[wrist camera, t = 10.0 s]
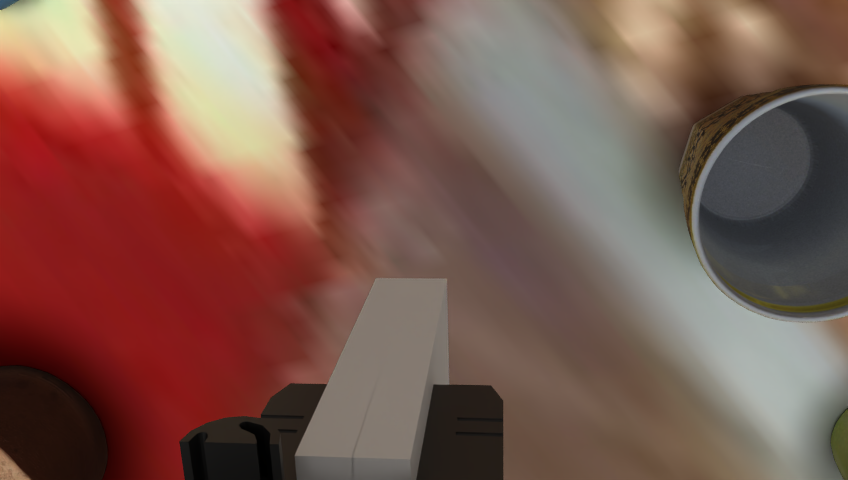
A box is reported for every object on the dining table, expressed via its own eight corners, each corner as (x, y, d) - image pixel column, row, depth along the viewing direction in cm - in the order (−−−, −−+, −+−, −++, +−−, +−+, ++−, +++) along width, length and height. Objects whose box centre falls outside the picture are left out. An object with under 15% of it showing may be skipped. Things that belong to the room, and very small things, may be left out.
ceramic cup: (624, 227, 42) (660, 293, 32) (680, 45, 39) (738, 59, 29) (857, 280, 41) (962, 363, 32) (932, 100, 38) (1074, 133, 29)
